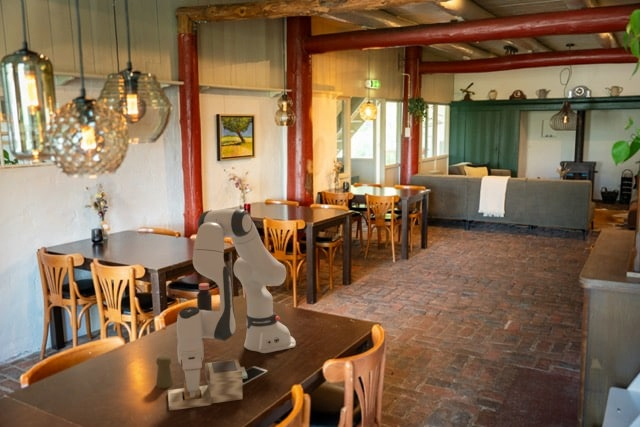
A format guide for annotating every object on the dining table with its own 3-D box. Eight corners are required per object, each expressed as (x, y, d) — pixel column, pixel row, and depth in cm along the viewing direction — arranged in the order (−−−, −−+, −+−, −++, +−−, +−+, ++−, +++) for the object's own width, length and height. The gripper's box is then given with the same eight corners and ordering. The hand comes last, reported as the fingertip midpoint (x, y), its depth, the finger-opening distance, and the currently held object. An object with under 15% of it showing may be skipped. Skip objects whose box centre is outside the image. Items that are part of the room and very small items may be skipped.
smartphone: (268, 370, 215) (242, 384, 203) (268, 371, 216) (242, 386, 203) (254, 365, 220) (227, 379, 208) (254, 367, 220) (227, 381, 208)
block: (198, 394, 196) (198, 379, 195) (199, 401, 191) (199, 385, 190) (184, 396, 195) (183, 380, 194) (185, 403, 190) (184, 387, 189)
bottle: (200, 321, 270) (199, 282, 267) (214, 322, 269) (213, 282, 266) (195, 326, 263) (194, 285, 260) (209, 327, 262) (208, 286, 259)
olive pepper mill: (174, 380, 207) (173, 353, 205) (171, 388, 201) (169, 359, 199) (158, 380, 207) (157, 353, 205) (154, 388, 201) (153, 360, 199)
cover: (244, 369, 201) (243, 358, 200) (247, 378, 194) (247, 367, 193) (205, 373, 197) (204, 363, 196) (207, 383, 190) (206, 372, 189)
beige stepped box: (237, 385, 204) (237, 357, 202) (243, 400, 192) (242, 371, 190) (168, 394, 196) (166, 365, 195) (169, 410, 185) (167, 380, 183)
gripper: (179, 344, 199) (181, 380, 202) (182, 367, 180) (184, 407, 182) (197, 342, 201) (198, 377, 203) (202, 365, 182) (203, 404, 184)
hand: (191, 391), depth 193 cm, fingers closed on block, 5 cm apart
